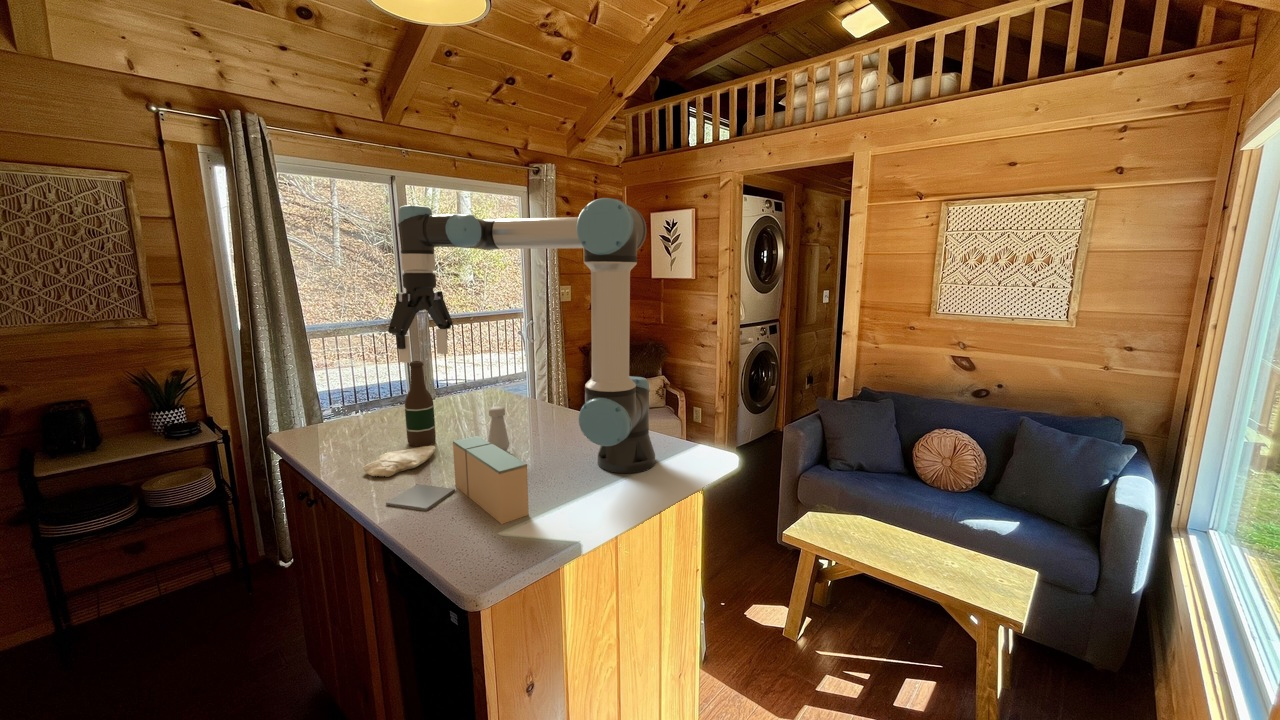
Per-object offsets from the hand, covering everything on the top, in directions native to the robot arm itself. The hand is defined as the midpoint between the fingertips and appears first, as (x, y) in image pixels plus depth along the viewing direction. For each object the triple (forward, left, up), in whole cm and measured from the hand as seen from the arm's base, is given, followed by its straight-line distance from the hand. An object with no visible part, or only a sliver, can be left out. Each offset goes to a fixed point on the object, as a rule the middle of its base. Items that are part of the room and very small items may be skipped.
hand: (424, 357), depth 129 cm
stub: (-19, +11, -28) cm, 35 cm away
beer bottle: (+13, -13, -28) cm, 34 cm away
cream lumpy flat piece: (+6, +3, -28) cm, 29 cm away
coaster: (-11, +19, -28) cm, 35 cm away
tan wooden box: (-29, +18, -28) cm, 44 cm away
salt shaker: (-13, -11, -28) cm, 33 cm away
